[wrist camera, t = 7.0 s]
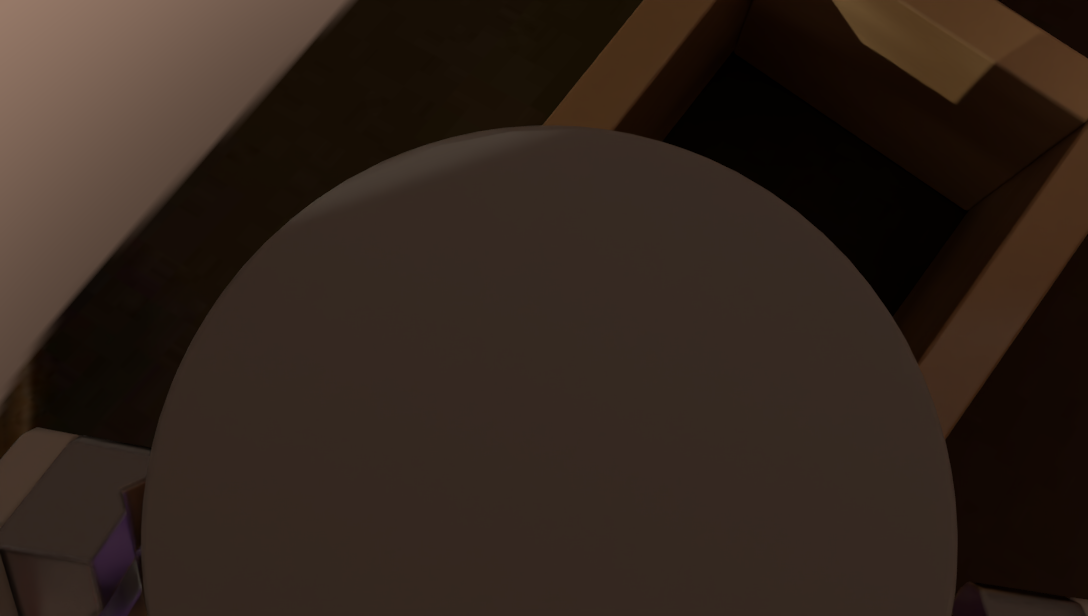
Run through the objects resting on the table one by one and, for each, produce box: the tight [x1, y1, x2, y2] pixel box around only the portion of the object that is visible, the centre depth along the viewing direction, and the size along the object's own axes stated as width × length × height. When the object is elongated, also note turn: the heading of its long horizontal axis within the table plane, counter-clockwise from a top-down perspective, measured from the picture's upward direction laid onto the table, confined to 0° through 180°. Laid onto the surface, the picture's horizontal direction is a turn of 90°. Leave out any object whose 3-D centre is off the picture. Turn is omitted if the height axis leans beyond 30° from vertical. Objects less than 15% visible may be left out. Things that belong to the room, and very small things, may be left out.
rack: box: [542, 0, 1088, 440], centre depth 18 cm, size 8×22×5 cm, turn 142°
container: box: [141, 125, 958, 616], centre depth 13 cm, size 5×5×15 cm
